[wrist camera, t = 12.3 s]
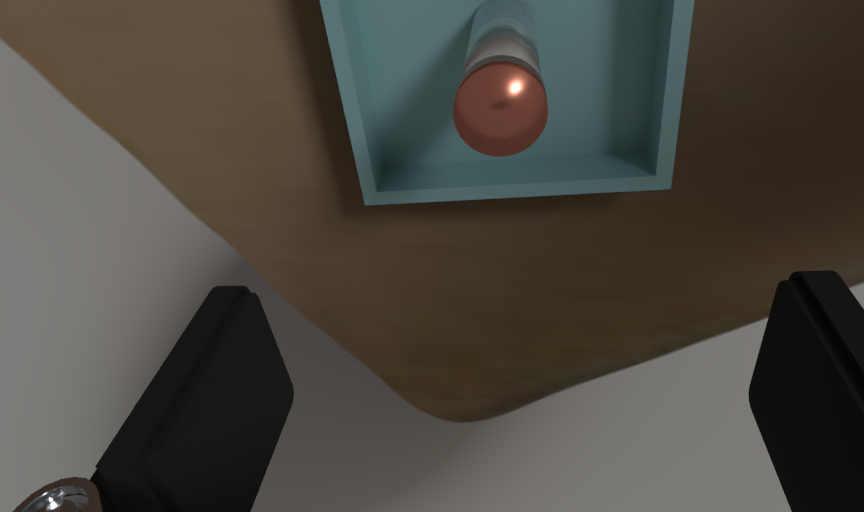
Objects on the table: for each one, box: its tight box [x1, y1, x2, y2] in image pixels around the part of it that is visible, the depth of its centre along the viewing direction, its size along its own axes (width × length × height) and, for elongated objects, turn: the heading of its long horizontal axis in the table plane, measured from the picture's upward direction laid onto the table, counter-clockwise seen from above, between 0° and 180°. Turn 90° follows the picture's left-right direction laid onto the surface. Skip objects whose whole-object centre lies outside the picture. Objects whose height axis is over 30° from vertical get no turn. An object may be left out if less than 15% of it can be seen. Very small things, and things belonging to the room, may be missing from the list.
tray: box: [320, 0, 694, 206], centre depth 28 cm, size 16×16×4 cm
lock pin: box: [453, 0, 548, 157], centre depth 24 cm, size 3×3×11 cm
